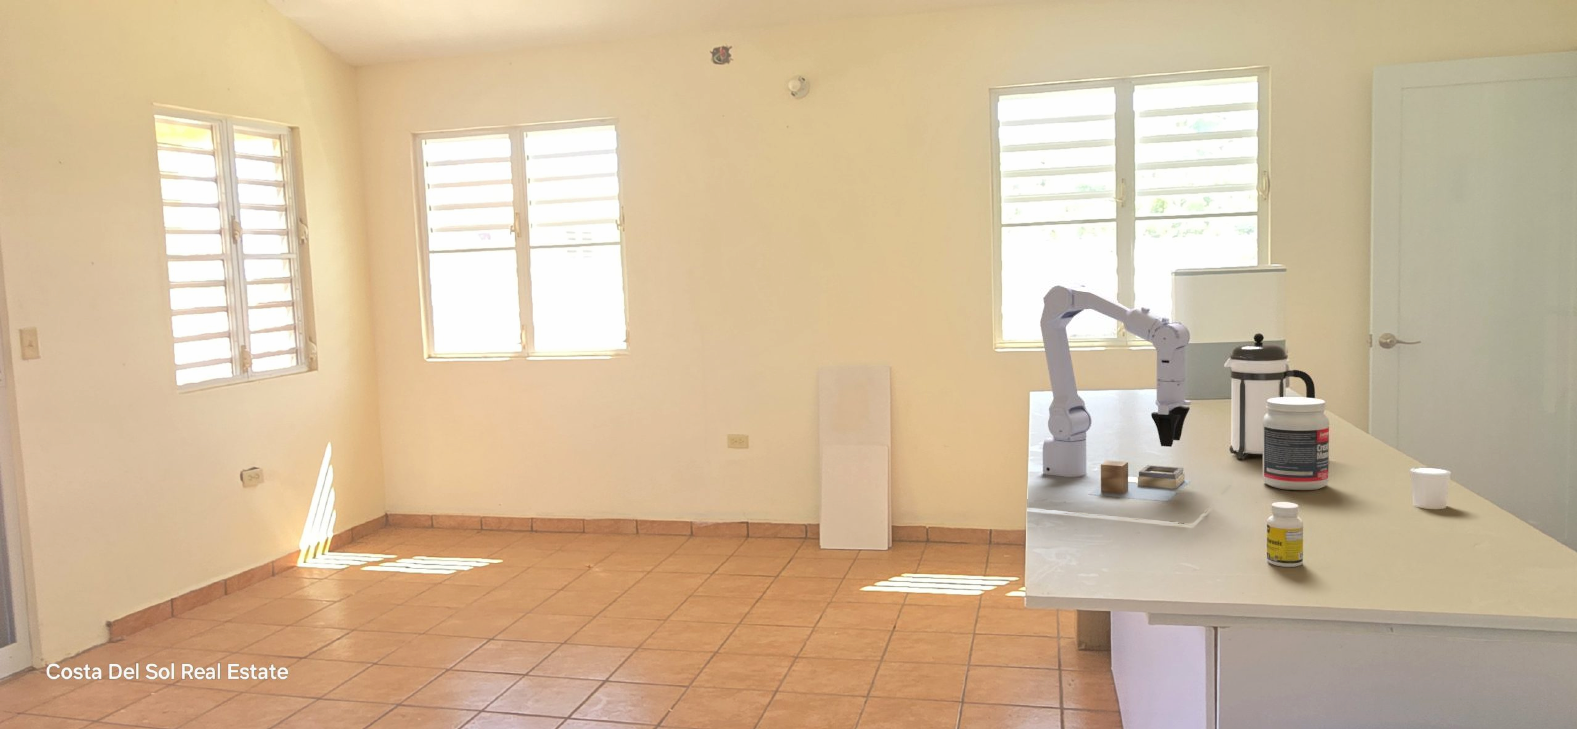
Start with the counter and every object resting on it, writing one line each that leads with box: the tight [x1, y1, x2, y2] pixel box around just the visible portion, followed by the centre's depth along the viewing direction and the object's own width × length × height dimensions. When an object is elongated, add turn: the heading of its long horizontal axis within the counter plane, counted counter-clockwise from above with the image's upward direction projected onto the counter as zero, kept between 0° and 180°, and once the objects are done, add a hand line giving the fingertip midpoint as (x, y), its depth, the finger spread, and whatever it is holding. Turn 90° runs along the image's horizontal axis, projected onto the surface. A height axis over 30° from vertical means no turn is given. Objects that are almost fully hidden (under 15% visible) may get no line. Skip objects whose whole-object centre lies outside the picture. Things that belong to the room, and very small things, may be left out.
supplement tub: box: [1262, 396, 1330, 491], centre depth 229 cm, size 13×13×18 cm
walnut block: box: [1100, 460, 1129, 494], centre depth 227 cm, size 4×4×6 cm
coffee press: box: [1223, 332, 1316, 461], centre depth 260 cm, size 17×16×30 cm
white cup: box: [1409, 466, 1452, 510], centre depth 209 cm, size 7×7×7 cm
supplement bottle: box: [1266, 501, 1304, 568], centre depth 176 cm, size 5×5×10 cm
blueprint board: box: [1088, 464, 1192, 502], centre depth 230 cm, size 16×22×4 cm
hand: (1170, 443), depth 230 cm, fingers open, 7 cm apart
